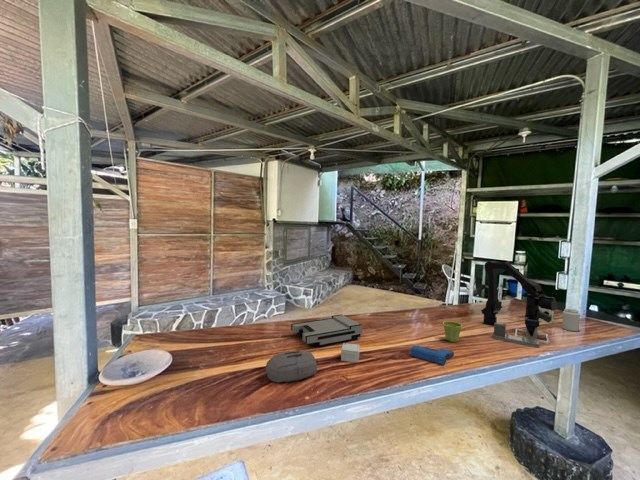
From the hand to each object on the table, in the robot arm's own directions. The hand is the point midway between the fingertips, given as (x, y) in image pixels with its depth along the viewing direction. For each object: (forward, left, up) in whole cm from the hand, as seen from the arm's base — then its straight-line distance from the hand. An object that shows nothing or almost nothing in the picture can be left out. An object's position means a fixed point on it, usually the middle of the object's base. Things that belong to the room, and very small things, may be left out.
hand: (531, 333), depth 154 cm
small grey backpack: (-77, -113, -2) cm, 137 cm away
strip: (-7, -13, -2) cm, 15 cm away
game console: (-88, -74, -2) cm, 115 cm away
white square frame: (0, 0, -2) cm, 2 cm away
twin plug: (-14, -13, 0) cm, 19 cm away
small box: (-66, -86, -2) cm, 108 cm away
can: (+19, +29, -2) cm, 35 cm away
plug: (0, 0, -2) cm, 2 cm away
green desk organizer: (+7, +43, -2) cm, 44 cm away
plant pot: (-34, -34, -2) cm, 48 cm away
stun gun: (-37, -60, -2) cm, 71 cm away
